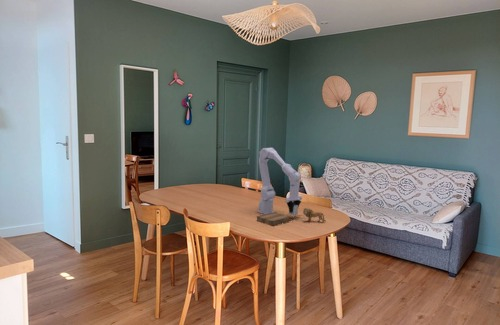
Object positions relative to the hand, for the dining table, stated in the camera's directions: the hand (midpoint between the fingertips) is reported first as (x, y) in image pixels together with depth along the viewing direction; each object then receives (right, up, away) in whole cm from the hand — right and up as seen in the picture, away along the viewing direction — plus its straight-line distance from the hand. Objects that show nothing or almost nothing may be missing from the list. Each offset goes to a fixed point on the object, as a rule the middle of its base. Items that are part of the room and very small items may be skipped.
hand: (293, 211), depth 236 cm
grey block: (0, -2, 0) cm, 2 cm away
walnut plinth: (-13, -5, -8) cm, 16 cm away
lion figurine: (+12, -6, -7) cm, 15 cm away
